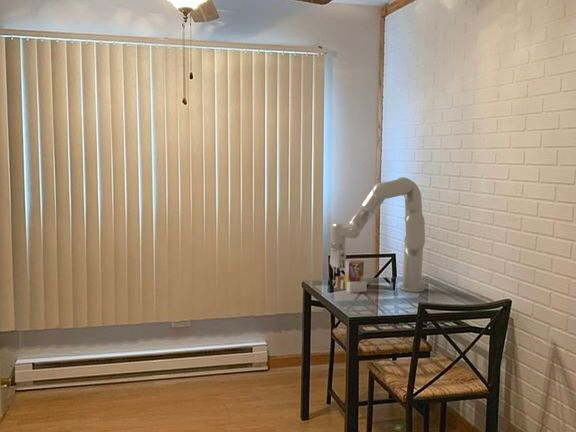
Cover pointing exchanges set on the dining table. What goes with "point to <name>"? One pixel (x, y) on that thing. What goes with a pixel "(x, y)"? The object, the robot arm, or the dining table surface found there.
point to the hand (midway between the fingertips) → (336, 279)
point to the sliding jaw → (340, 281)
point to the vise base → (356, 286)
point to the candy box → (353, 271)
